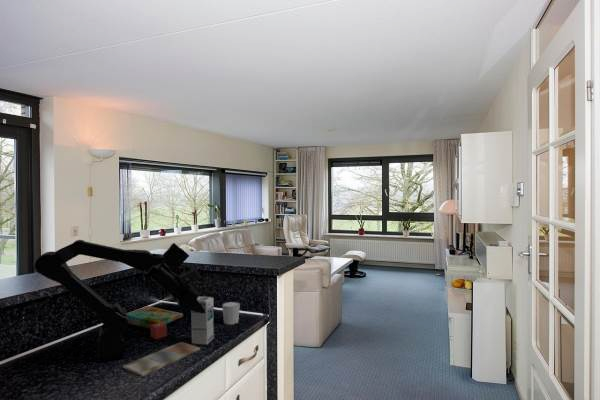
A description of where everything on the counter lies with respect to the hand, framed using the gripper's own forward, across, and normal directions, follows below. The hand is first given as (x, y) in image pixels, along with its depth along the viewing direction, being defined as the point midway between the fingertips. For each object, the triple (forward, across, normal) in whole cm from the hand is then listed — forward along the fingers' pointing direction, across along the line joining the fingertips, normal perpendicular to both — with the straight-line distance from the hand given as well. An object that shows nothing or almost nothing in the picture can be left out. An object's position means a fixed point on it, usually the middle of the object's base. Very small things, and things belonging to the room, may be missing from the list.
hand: (201, 308), depth 125 cm
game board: (-1, -8, +17) cm, 19 cm away
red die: (-1, +11, +17) cm, 20 cm away
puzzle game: (-1, +26, +18) cm, 32 cm away
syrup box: (+8, 0, +8) cm, 11 cm away
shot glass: (+18, +14, -2) cm, 23 cm away
